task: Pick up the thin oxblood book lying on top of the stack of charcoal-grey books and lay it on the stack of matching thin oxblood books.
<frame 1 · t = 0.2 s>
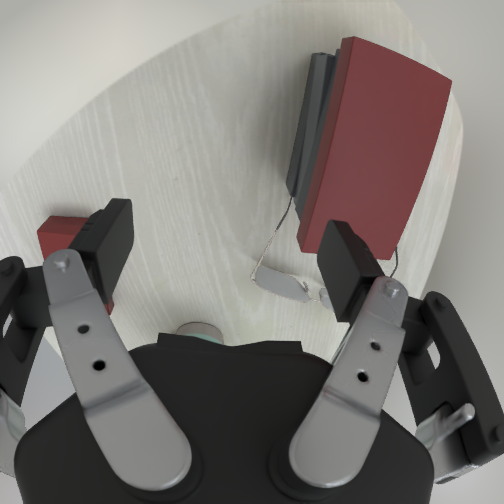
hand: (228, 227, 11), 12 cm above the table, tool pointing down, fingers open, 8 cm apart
grey books: (331, 127, 20), on the table
coffee cup: (199, 335, 34), on the table
oxblood books: (82, 264, 27), on the table
eyeglasses: (328, 252, 28), on the table
thin oxblood book: (370, 154, 15), point 7 cm above the table, touching grey books
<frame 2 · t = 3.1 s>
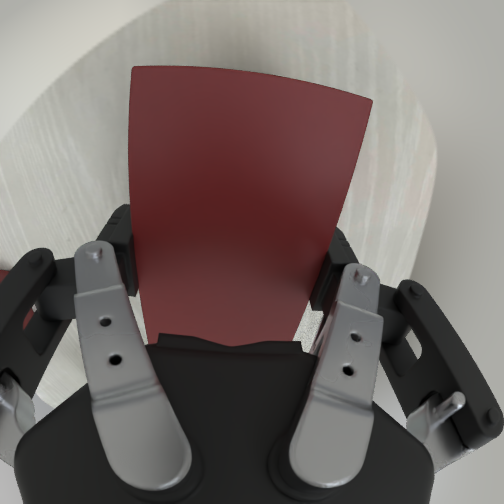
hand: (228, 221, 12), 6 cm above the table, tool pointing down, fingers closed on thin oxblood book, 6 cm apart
thin oxblood book: (228, 241, 11), point 7 cm above the table, touching grey books, gripper
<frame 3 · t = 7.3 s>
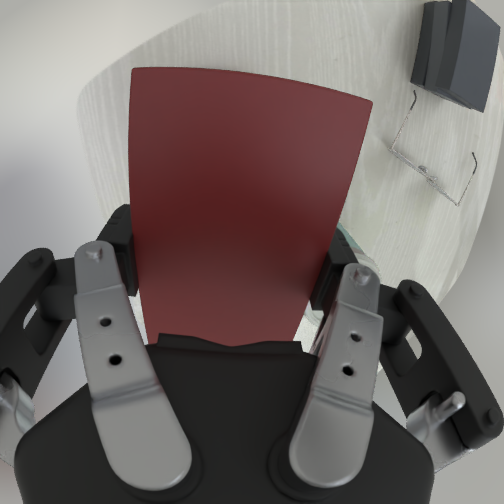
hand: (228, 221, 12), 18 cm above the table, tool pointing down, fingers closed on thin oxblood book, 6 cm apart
grey books: (436, 50, 21), on the table
coffee cup: (315, 230, 35), on the table
eyeglasses: (431, 146, 28), on the table
thin oxblood book: (228, 242, 11), point 20 cm above the table, touching gripper
when the fingers open (2 cm above the table, at t = 11.6 s): thin oxblood book stays where it is, resting on oxblood books.
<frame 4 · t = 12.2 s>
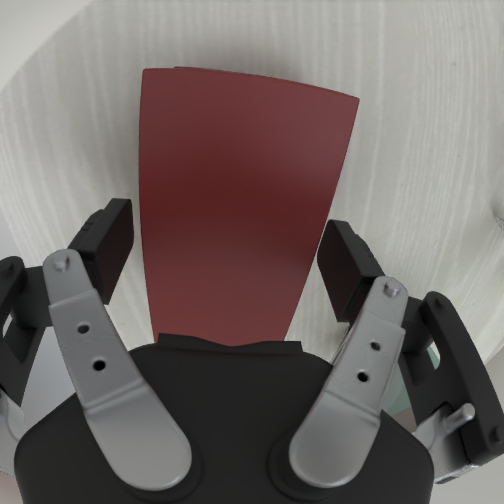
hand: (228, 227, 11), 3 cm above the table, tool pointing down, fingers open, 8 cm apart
coffee cup: (376, 328, 22), on the table
thin oxblood book: (228, 230, 11), point 3 cm above the table, touching oxblood books
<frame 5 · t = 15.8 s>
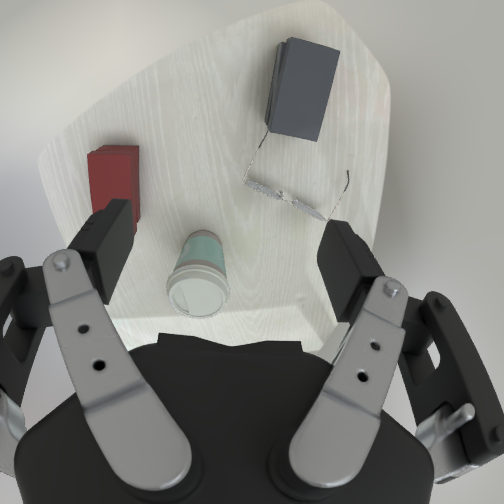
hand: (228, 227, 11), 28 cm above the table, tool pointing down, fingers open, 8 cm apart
grey books: (292, 86, 32), on the table
coffee cup: (203, 245, 46), on the table
oxblood books: (121, 182, 38), on the table
eyeglasses: (296, 171, 40), on the table
thin oxblood book: (114, 191, 36), point 3 cm above the table, touching oxblood books
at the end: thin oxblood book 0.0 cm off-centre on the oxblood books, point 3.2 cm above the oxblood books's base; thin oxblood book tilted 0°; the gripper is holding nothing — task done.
